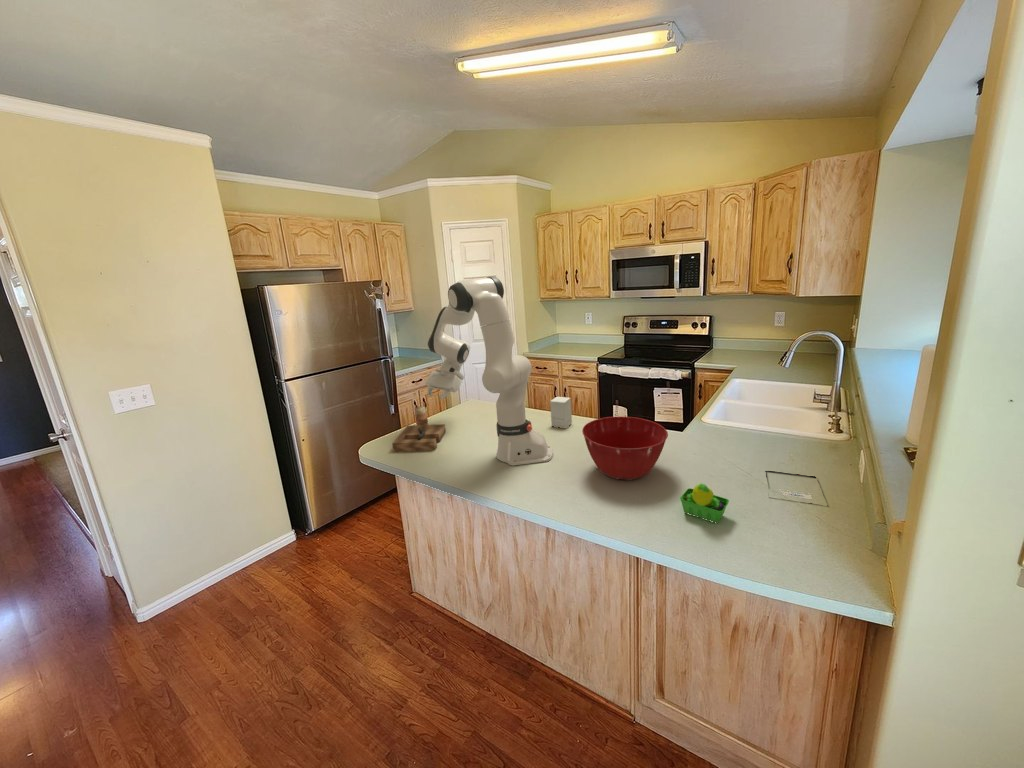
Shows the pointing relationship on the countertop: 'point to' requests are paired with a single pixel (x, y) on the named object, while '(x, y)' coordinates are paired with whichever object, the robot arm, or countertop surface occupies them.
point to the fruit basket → (703, 503)
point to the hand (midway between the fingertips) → (434, 396)
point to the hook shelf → (414, 442)
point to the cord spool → (421, 418)
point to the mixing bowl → (624, 445)
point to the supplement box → (561, 412)
